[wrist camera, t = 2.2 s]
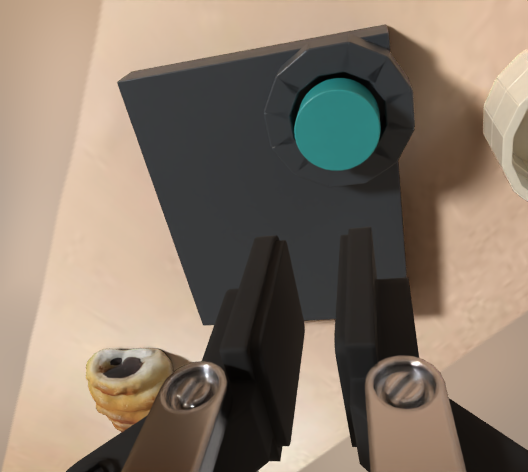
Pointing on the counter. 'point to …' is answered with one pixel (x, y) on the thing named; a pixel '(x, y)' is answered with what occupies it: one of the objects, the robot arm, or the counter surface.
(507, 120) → the bowl
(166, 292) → the counter surface
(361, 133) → the button
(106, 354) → the pastry
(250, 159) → the dark grey flat block
